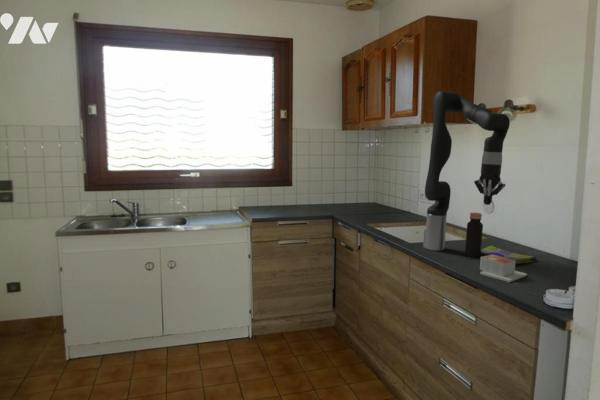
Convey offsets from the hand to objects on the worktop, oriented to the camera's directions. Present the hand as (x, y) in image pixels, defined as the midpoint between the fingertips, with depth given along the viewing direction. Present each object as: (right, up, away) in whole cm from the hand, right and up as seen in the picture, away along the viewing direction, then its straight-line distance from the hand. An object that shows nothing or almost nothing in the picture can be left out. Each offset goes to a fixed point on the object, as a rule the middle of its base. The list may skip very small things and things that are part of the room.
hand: (487, 204), depth 179 cm
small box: (-1, -24, -1) cm, 24 cm away
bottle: (+2, -24, +21) cm, 32 cm away
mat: (+4, -28, -6) cm, 29 cm away
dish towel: (+16, -25, +21) cm, 36 cm away
